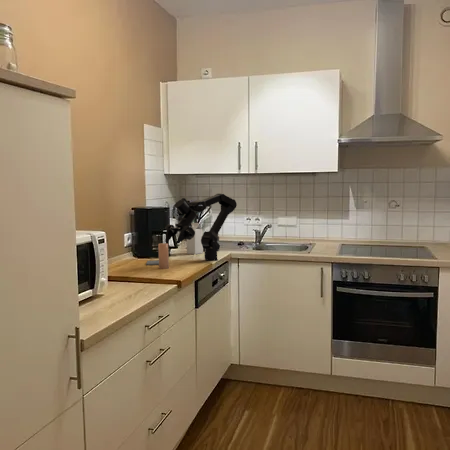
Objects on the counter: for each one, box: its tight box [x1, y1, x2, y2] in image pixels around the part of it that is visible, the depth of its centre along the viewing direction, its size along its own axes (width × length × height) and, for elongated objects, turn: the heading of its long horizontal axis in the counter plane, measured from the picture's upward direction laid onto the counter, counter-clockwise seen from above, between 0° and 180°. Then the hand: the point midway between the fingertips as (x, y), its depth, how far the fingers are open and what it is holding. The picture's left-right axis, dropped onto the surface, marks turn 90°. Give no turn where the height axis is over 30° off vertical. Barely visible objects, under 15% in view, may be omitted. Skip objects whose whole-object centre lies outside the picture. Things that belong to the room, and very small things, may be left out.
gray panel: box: [145, 259, 159, 266], centre depth 254 cm, size 11×11×1 cm
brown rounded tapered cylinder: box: [158, 242, 170, 270], centre depth 238 cm, size 5×5×12 cm
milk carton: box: [186, 222, 204, 255], centre depth 288 cm, size 7×7×19 cm
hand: (171, 242), depth 241 cm, fingers open, 9 cm apart
